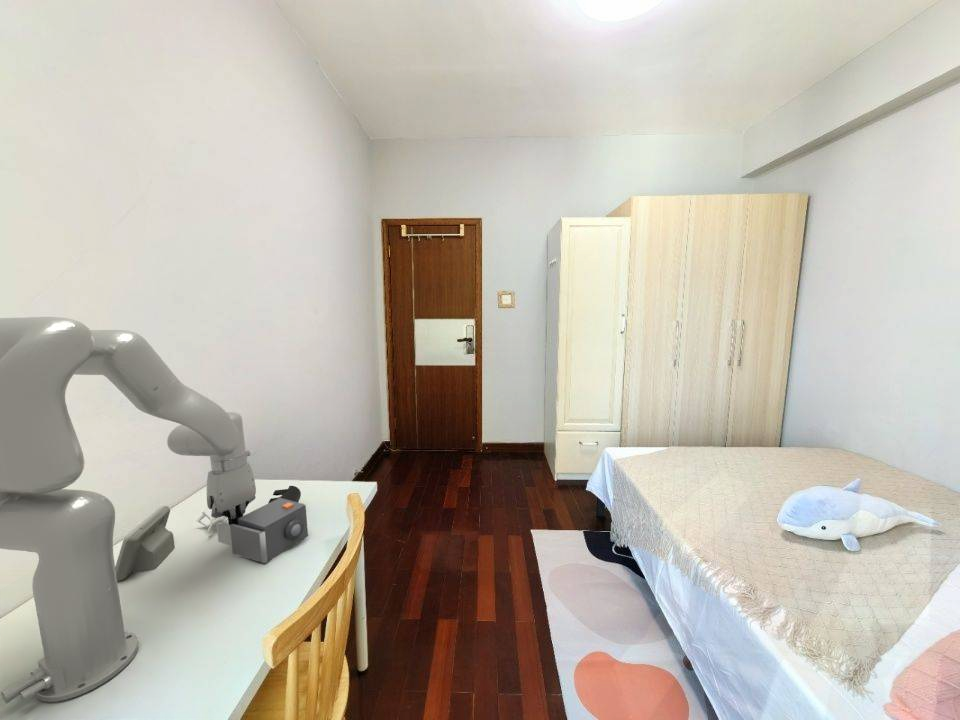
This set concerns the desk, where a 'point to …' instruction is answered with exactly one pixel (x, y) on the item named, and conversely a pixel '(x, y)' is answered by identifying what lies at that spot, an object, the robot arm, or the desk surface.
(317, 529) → the desk surface
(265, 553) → the side door
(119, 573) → the digital clock
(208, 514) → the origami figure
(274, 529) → the camera body
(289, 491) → the black curved claw shape
